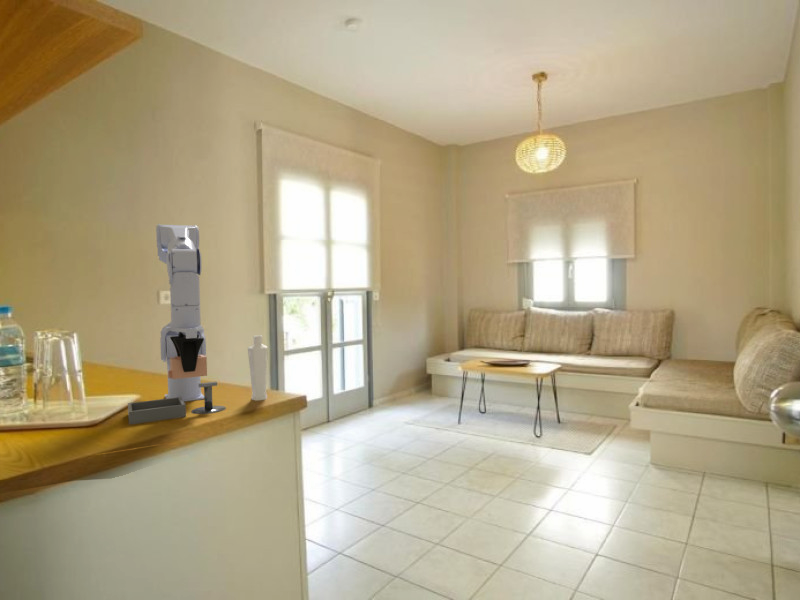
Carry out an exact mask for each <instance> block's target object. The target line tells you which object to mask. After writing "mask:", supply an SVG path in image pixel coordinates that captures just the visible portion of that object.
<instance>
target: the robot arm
mask: <svg viewBox="0 0 800 600" xmlns="http://www.w3.org/2000/svg"><path fill="white" fill-rule="evenodd" d="M155 228H156V229H155V232H156V233H155V234H156V236H155V237H156V248H157V256H158V260H159V261H160V262H162V263H164V264H166V268H167V269H166V272H167V275H168V284H169V285H170V287H169V295H170V296H169V297H170V298H169V299H170V300H169V301H170V322H169V323H168V324H166V325H165V326H163V327H162V328H161V331H160V337H159V338H160V342H159V343H160V360H161V361H162V362H166V366H167V367H166V368H167V372H168V371H170V357H181V363H182V367H183V370H184V372H191V371H195V369H196V364H197V358H198V355H204V356H206V355H207V340H206V335H205V329H204V327H203V325H201V324H202V322H201V321H202V319H201V294H200V293H201V291H200V286H201V285H200V276H201V273H202V262H203V261H202V254H201V250H200V248H199V247H200V228H199V226H197V224H194V225H189V224H187V225H186V224H184V225H183V224H181V225H180V224H161V223H158V224H157V225H156V226H155ZM206 357H207V356H206ZM201 381H202V380H201V376H199V377H190V378H180V379H172V378H168V377H167V392H168V393H167V394H166V393H165V394H164V399H168V398H176V397H181V398H182V400H183V401H184V403H185V402H190V401H191V402H193V401H199V400H204V393H202V387H201V388H199V383H202V382H201Z"/></svg>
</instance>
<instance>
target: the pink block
mask: <svg viewBox="0 0 800 600" xmlns="http://www.w3.org/2000/svg"><path fill="white" fill-rule="evenodd" d="M207 360H208V359H207V356H204V355H198V358H197V364H196V369H195V371H191V372H184V370H183V367H182V363H181V357H170V371H167V379H168V378H172V379H180V378H190V377H199V376H200V377H206V376H208V361H207Z"/></svg>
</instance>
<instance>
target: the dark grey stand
mask: <svg viewBox="0 0 800 600" xmlns="http://www.w3.org/2000/svg"><path fill="white" fill-rule="evenodd" d="M215 386H216V387H218V381H210V382H201V383H199V388H201V389H202V388H203V395H204V399H203V400H204V401H203V402H204V406H200V407H196V408H194V409H191V411H190V412H191V413H192V414H195V415H208V414H209V415H210V414H215V413H220V412H224V411H225V410H227V407H226V406H224V405H214V404H213V387H215Z"/></svg>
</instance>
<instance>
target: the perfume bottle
mask: <svg viewBox="0 0 800 600" xmlns="http://www.w3.org/2000/svg"><path fill="white" fill-rule="evenodd" d="M252 337H253V344H252V345H250V346H249V347H247V354H248V362H249V363H248V364H249V374H250V383H251V392H252V393H251V398H250V399H251V400H252V401H254V402H255V401H256V402H257V401H265V400H267V399H268V397H269V396H268V394H267V375H268V373H267V372H268V350H269V349H268V348H269V347H268V346H267V345H266V344H263V335H253V336H252Z"/></svg>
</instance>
